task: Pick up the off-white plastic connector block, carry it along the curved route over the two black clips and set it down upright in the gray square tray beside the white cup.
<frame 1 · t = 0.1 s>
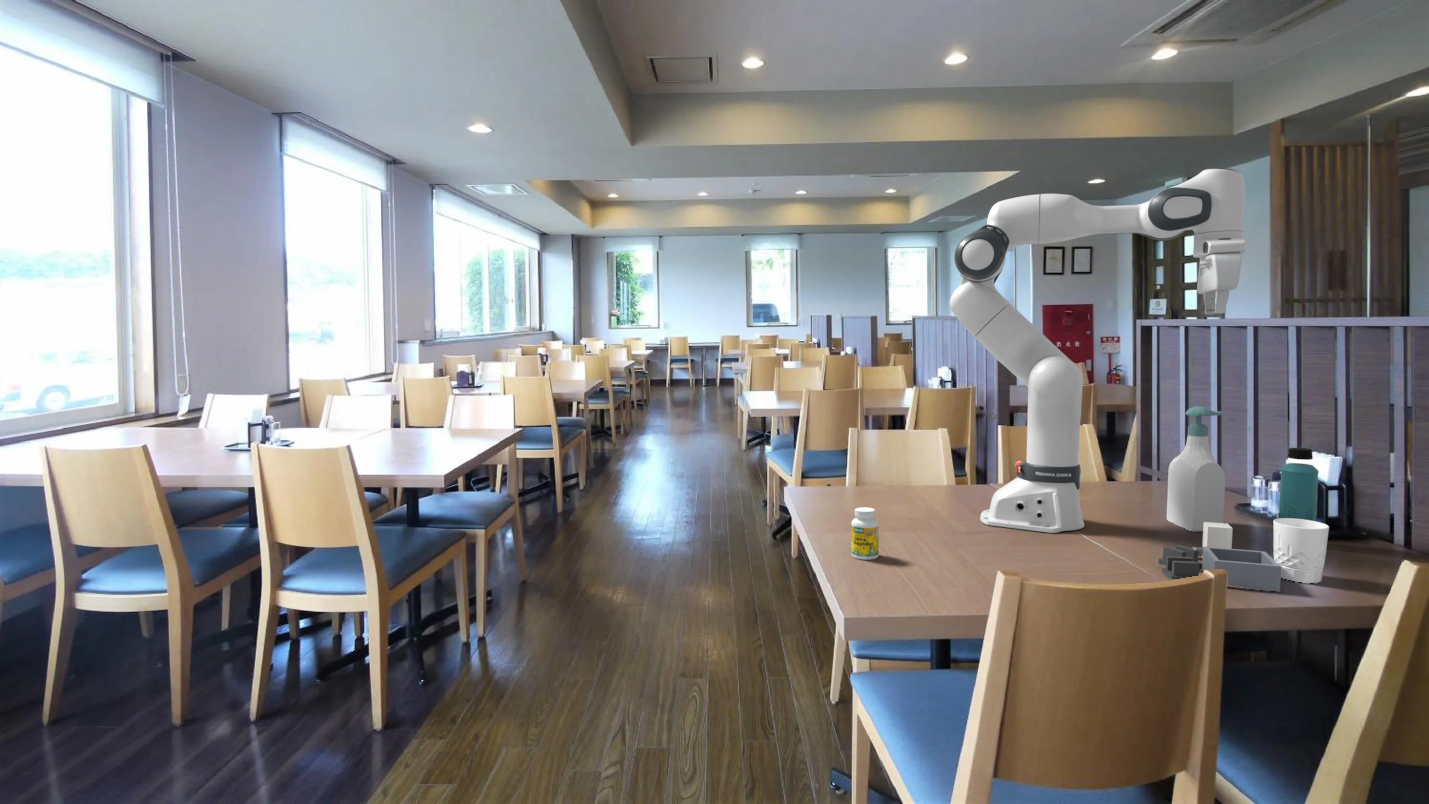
hand: (1214, 314, 162), 48 cm above the table, tool pointing down, fingers open, 8 cm apart
supplement bottle: (864, 557, 153), on the table
gray square tray: (1239, 580, 136), on the table
connector: (1216, 560, 148), on the table
clip 2: (1181, 576, 138), on the table
beverage bottle: (1295, 543, 160), on the table
white cup: (1297, 579, 137), on the table
clip 1: (1180, 565, 145), on the table
soap bottle: (1197, 527, 174), on the table
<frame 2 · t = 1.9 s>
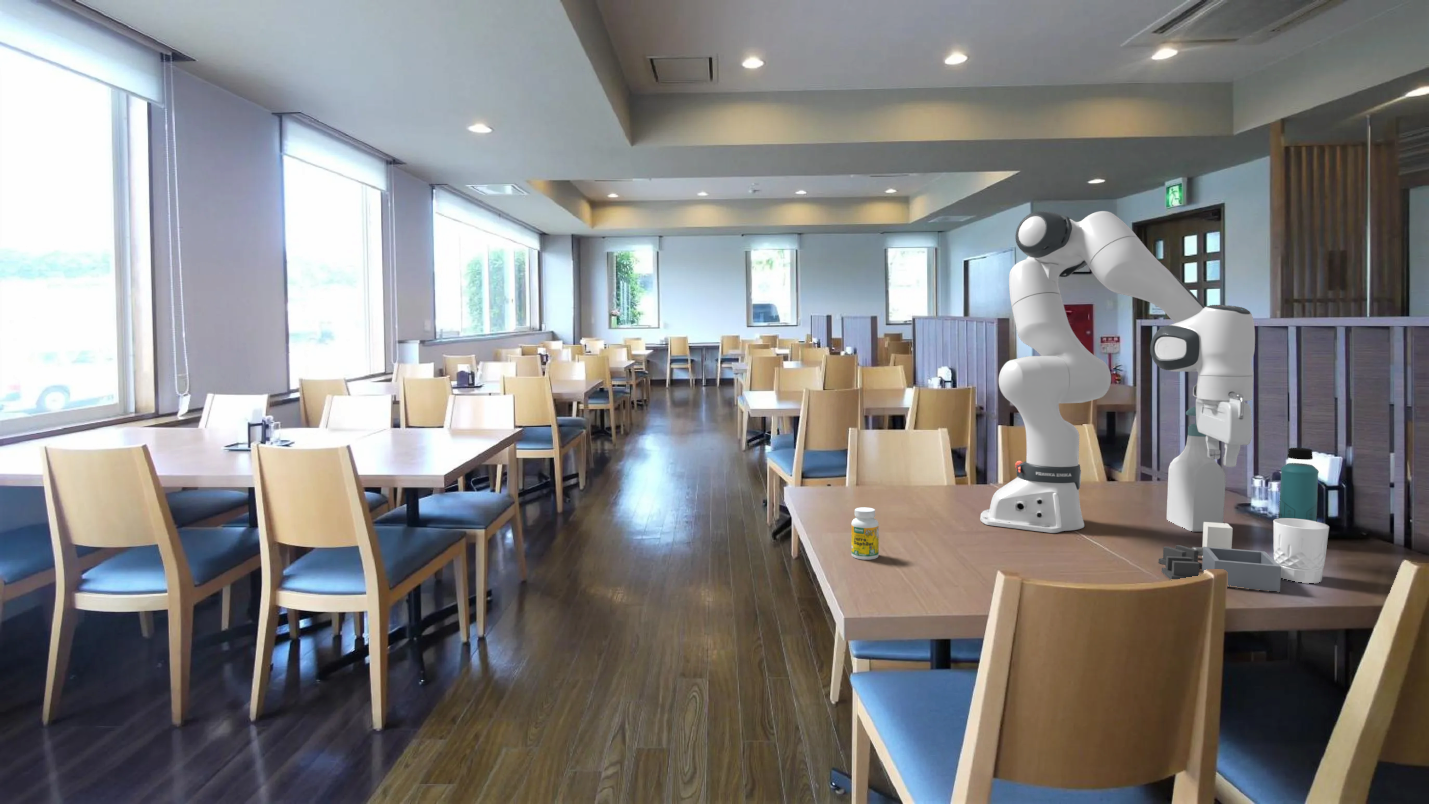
hand: (1221, 462, 147), 19 cm above the table, tool pointing down, fingers open, 8 cm apart
nothing on the table moved.
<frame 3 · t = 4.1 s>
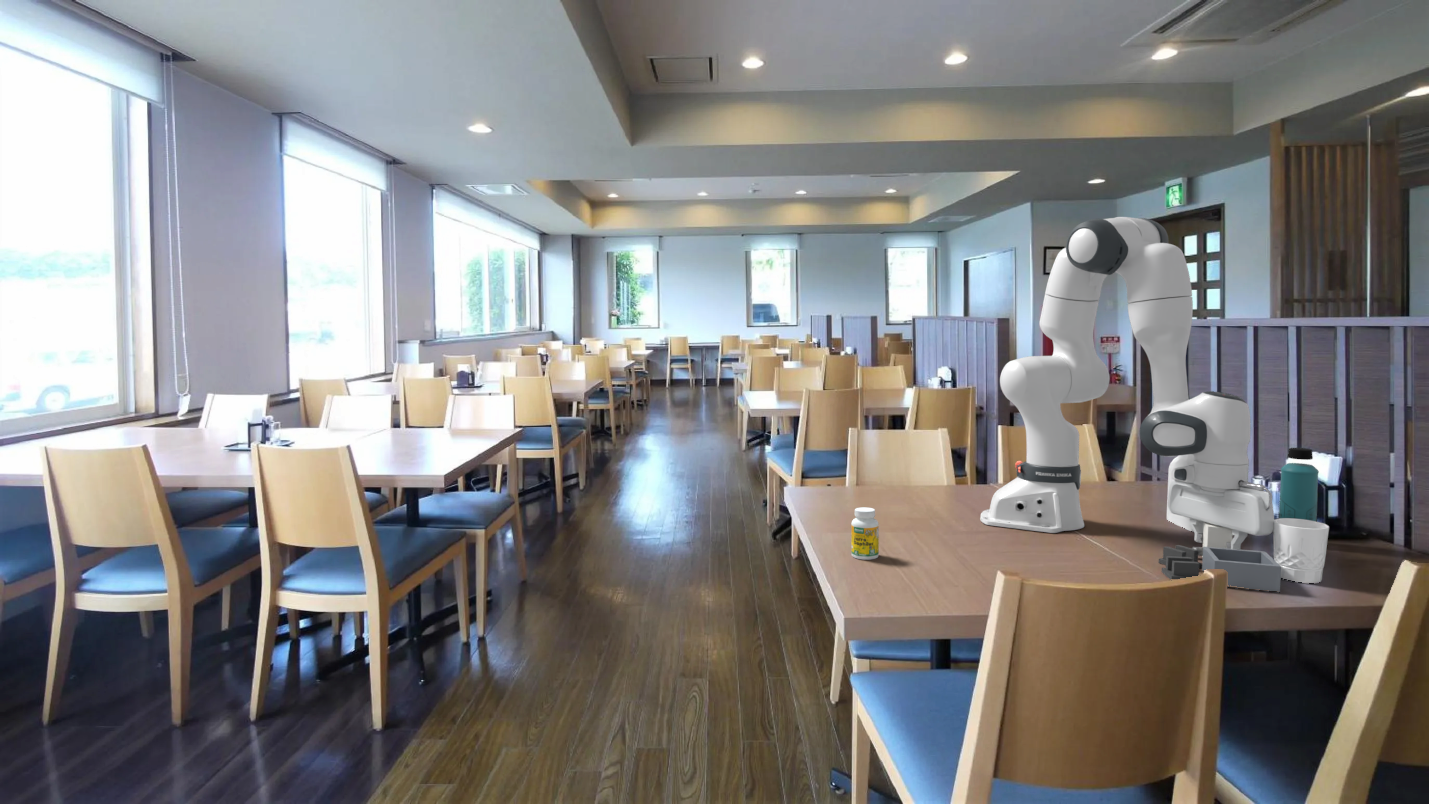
hand: (1216, 546, 148), 3 cm above the table, tool pointing down, fingers closed on connector, 6 cm apart
connector: (1216, 560, 148), on the table, touching gripper
everything else where it was.
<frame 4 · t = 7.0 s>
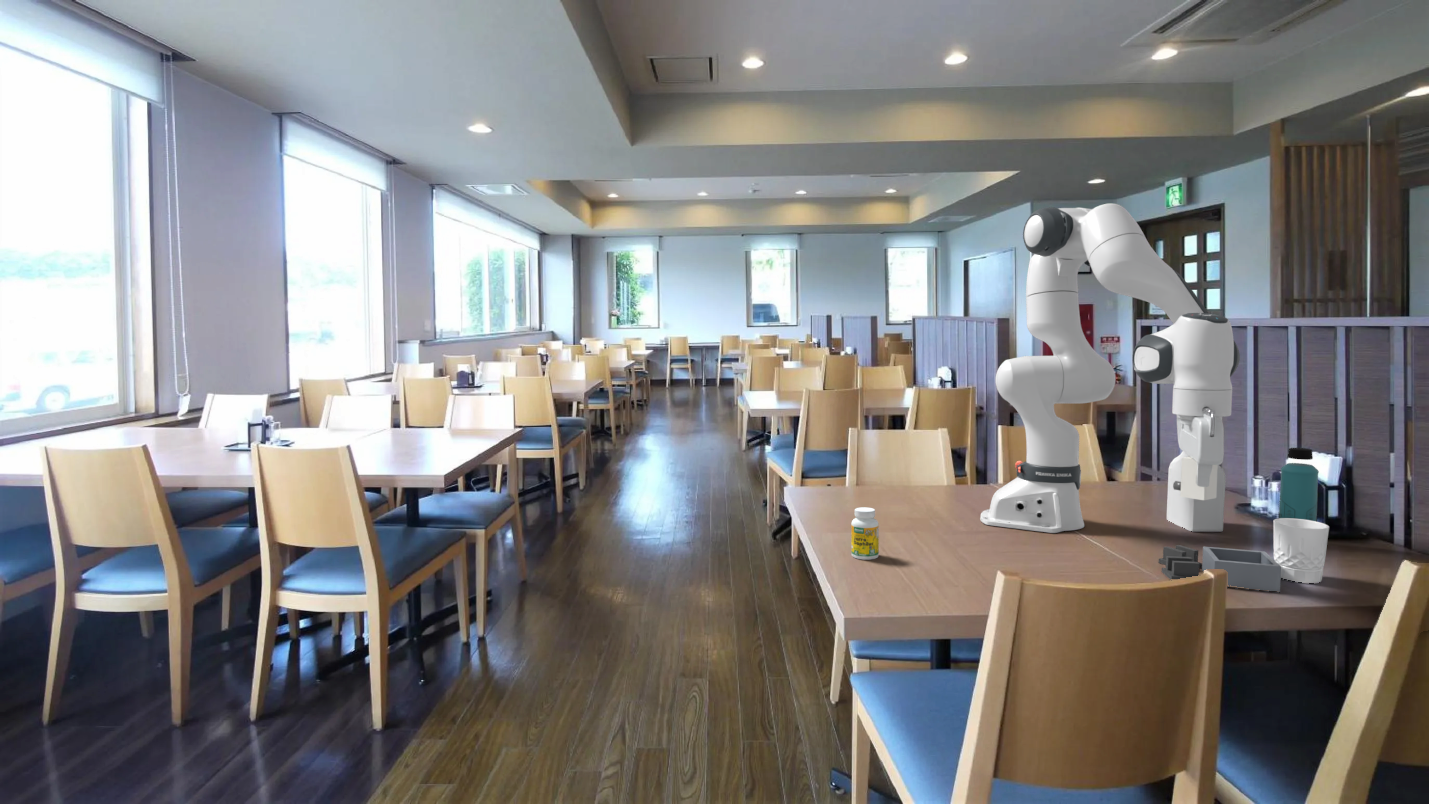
hand: (1198, 482, 136), 17 cm above the table, tool pointing down, fingers closed on connector, 6 cm apart
connector: (1198, 497, 136), point 15 cm above the table, touching gripper
everything else where it was.
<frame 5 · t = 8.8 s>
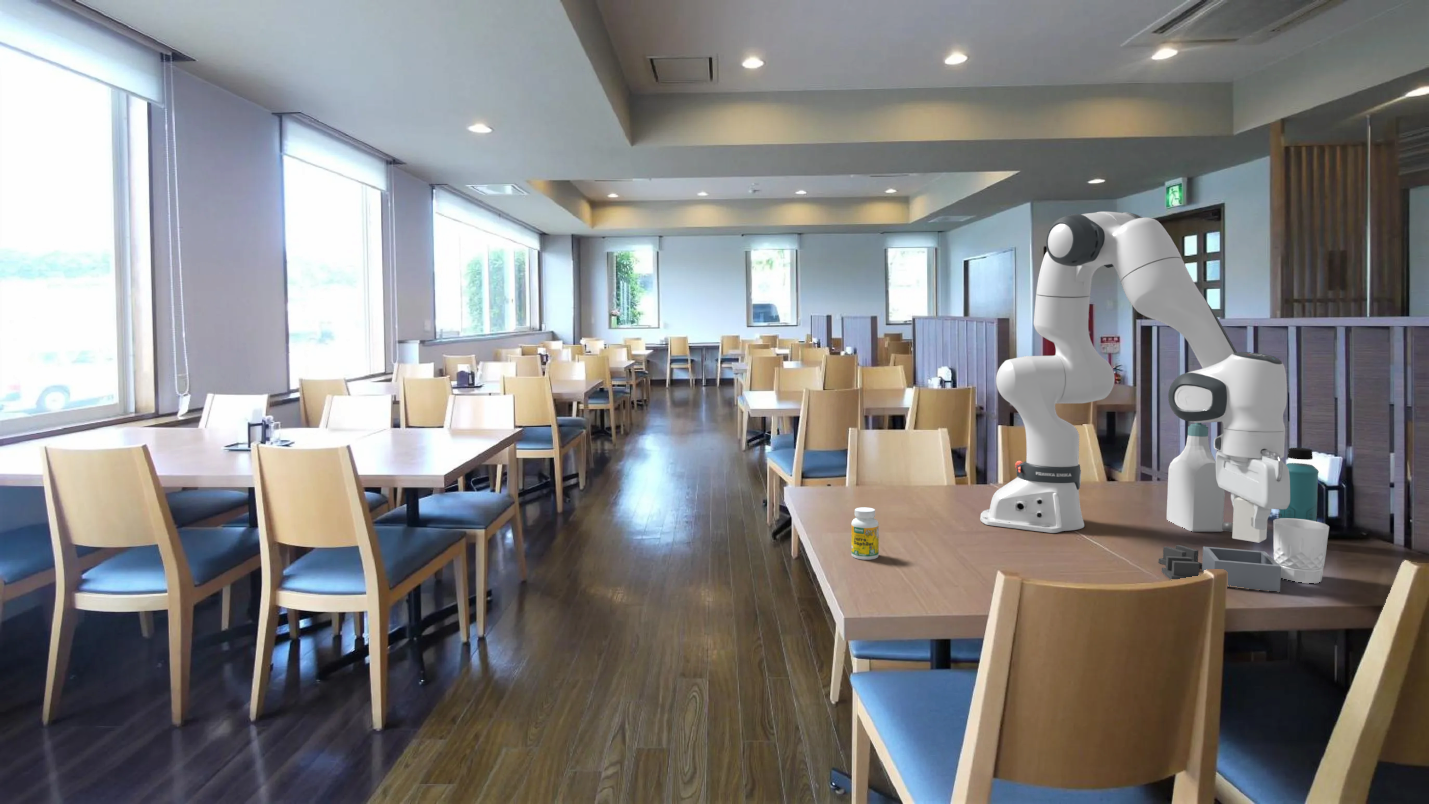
hand: (1249, 523, 134), 10 cm above the table, tool pointing down, fingers closed on connector, 6 cm apart
connector: (1249, 538, 135), point 8 cm above the table, touching gripper
everything else where it was.
when the fingers open (6 cm above the table, at t = 10.2 s): connector drops 2 cm, resting on gray square tray.
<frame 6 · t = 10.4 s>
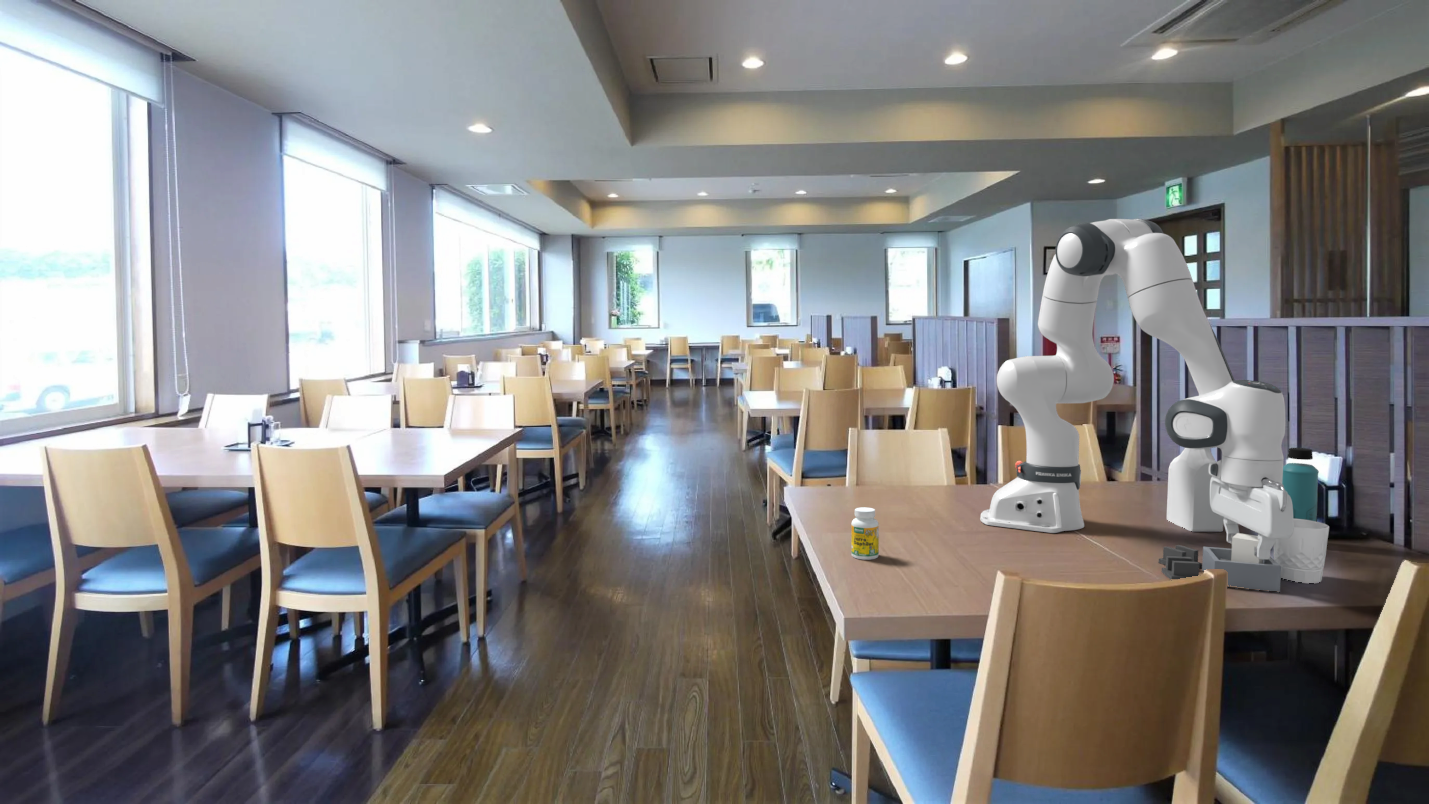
hand: (1247, 550, 135), 6 cm above the table, tool pointing down, fingers open, 8 cm apart
connector: (1246, 575, 135), point 1 cm above the table, touching gray square tray
everything else where it was.
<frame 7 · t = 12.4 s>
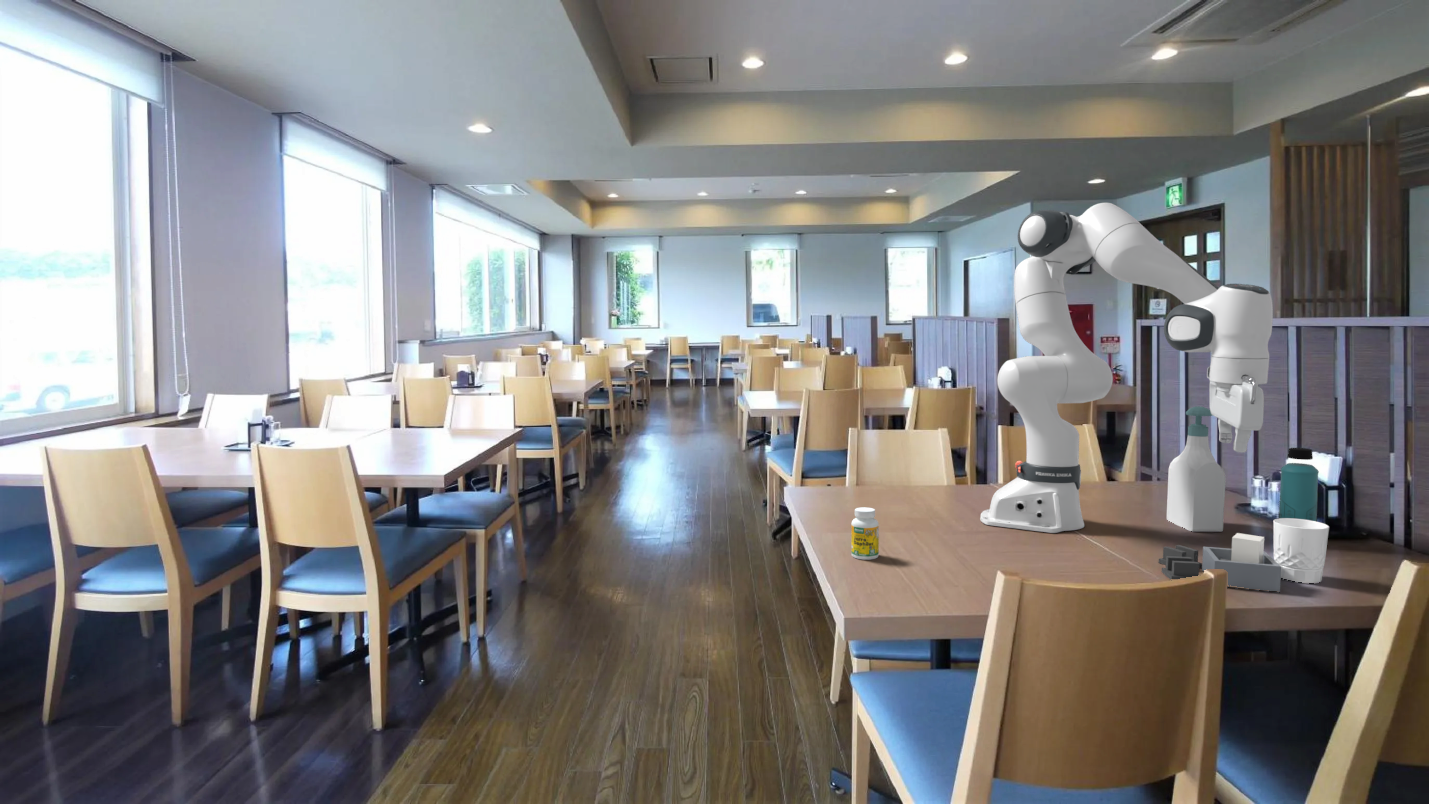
hand: (1232, 447, 142), 23 cm above the table, tool pointing down, fingers open, 8 cm apart
nothing on the table moved.
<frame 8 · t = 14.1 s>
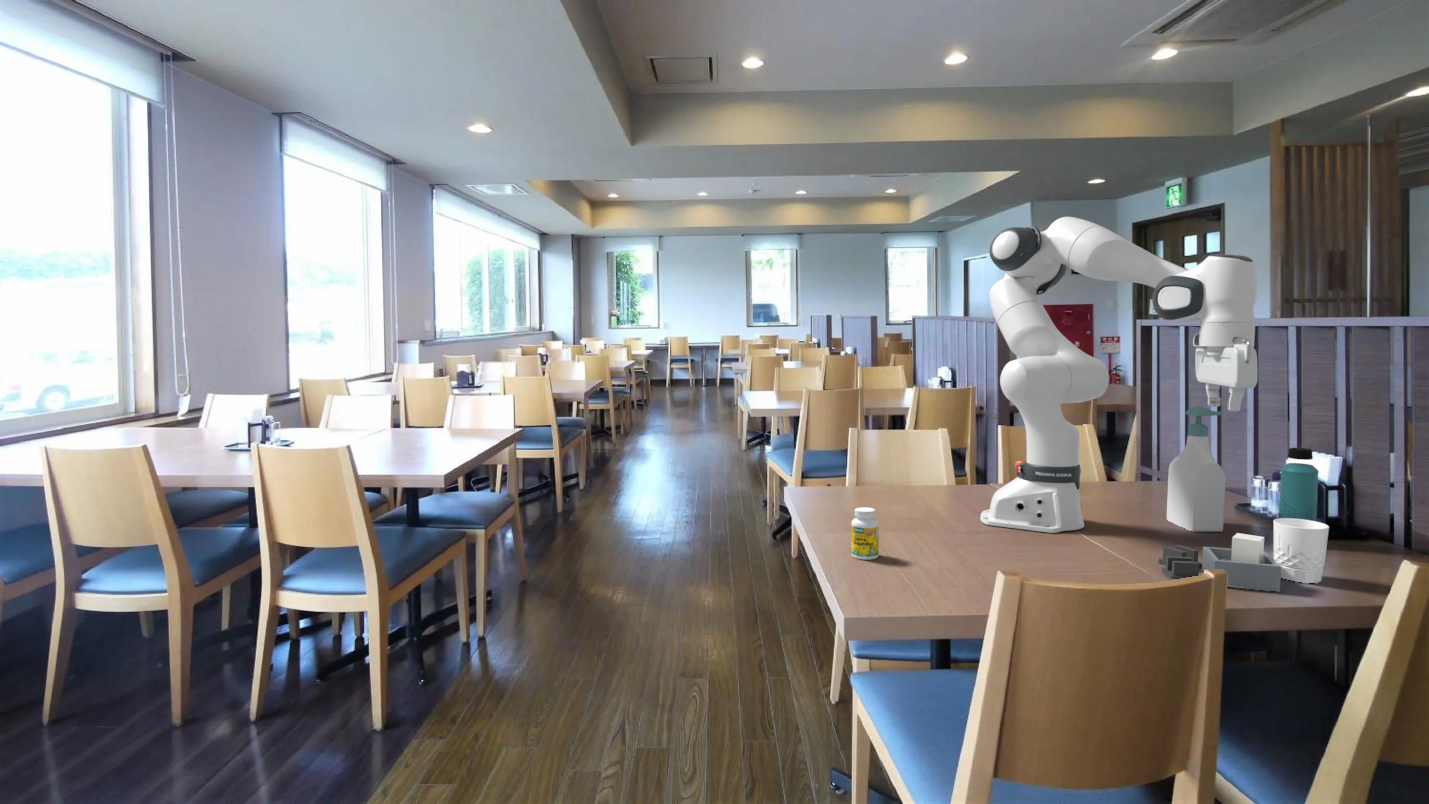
hand: (1223, 408, 150), 29 cm above the table, tool pointing down, fingers open, 8 cm apart
nothing on the table moved.
at the end: connector inside the target area on the gray square tray (1.0 cm from its centre), point 1.0 cm above the gray square tray's base; connector tilted 0°; the gripper is holding nothing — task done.
